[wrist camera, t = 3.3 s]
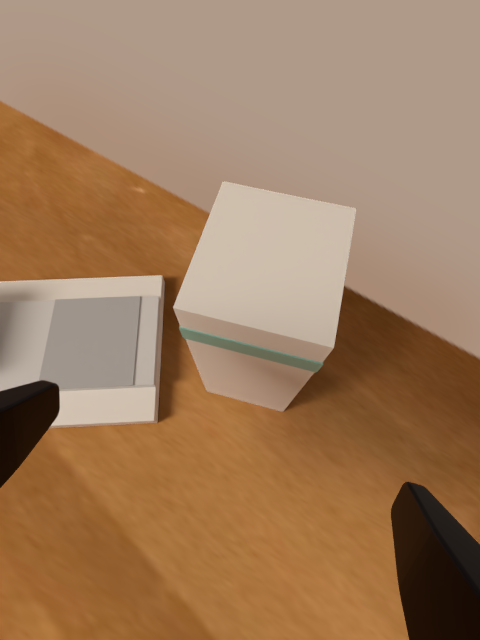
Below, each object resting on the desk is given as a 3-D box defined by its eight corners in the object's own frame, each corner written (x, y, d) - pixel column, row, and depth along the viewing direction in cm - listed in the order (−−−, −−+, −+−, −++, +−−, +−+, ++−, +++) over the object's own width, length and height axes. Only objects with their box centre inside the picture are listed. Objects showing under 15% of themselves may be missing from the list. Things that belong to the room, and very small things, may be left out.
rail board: (157, 422, 20) (136, 410, 16) (-126, 436, 20) (-224, 428, 16) (164, 282, 24) (149, 243, 20) (-70, 291, 24) (-136, 254, 20)
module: (283, 413, 21) (335, 350, 10) (205, 391, 21) (170, 308, 10) (300, 332, 23) (357, 207, 12) (229, 315, 23) (222, 180, 12)
